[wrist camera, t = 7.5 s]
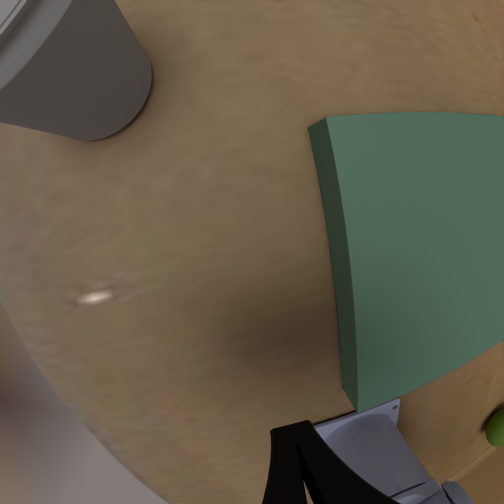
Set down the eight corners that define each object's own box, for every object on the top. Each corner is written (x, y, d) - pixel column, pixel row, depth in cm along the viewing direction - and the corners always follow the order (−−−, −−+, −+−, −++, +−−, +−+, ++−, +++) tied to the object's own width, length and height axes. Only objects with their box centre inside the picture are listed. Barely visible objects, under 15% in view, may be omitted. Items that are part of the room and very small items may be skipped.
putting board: (530, 296, 22) (548, 305, 19) (342, 388, 20) (357, 413, 17) (528, 124, 17) (550, 123, 14) (308, 127, 16) (325, 117, 13)
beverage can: (162, 39, 14) (104, -107, 2) (148, 141, 15) (16, 75, 4) (68, 51, 13) (-46, -35, 1) (51, 146, 14) (-108, 131, 3)
